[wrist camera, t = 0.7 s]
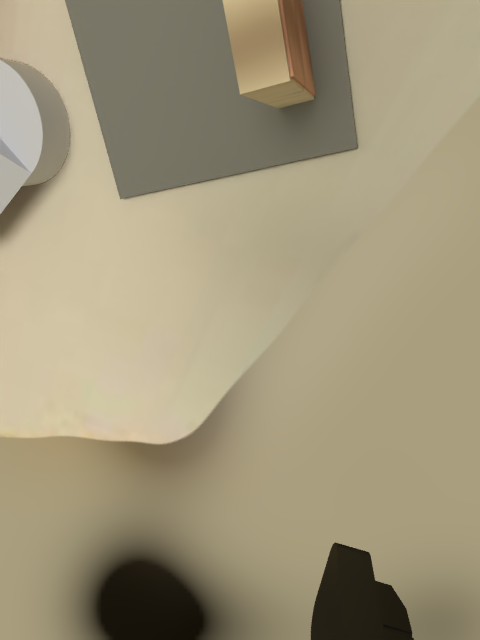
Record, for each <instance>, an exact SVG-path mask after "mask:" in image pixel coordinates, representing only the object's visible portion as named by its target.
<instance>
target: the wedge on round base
mask: <svg viewBox="0 0 480 640" xmlns="http://www.w3.org/2000/svg"><path fill="white" fill-rule="evenodd" d="M69 145H70V125H69V119H68V115H67V111H66V108H65V105H64V103H63V101H62V99H61V97H60V95H59V93H58V91H57V90H56V88H55V87H54V85H53V84H52V83H51V82H50V81H49V80H48V79H47V78H46V77H45V76H44V75H43V74H42V73H41V72H39V71H38V70H36V69H35V68H33V67H31V66H29V65H27V64H24V63H21V62H16V61H12V60H8V59H3V58H0V214H1V213H2V211H3V210H4V209H5V207H6V206H7V205H8V204H9V202H10V201H11V200H12V198H13V197H14V196H15V194H16V193H17V192H18V190H19V189H20V188H21V187H22V186H29V185H36V184H40V183H44V182H46V181H48V180H49V179H51V178H52V177H53V176H55V175H56V174H57V172H58V171H59V170H60V169H61V167H62V166H63V164H64V162H65V160H66V157H67V154H68V150H69Z"/></svg>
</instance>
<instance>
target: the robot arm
mask: <svg viewBox="0 0 480 640" xmlns="http://www.w3.org/2000/svg"><path fill="white" fill-rule="evenodd" d="M311 640H414V639H413V638H412V630H411V626H410V622H409V618H408V614H407V610H406V608H405V606H404V605H403V603H402V602H401V600H400V598H399V597H398V596H397V594H396V592H395V591H394V589H393V588H392V586H391V585H388V584H384V583H381V582H377V581H375V578H374V572H373V567H372V561H371V556H370V554H369V552H366V551H363V550H359V549H356V548H352V547H349V546H345V545H342V544H338V543H334V544H333V546H332V548H331V551H330V554H329V557H328V561H327V564H326V567H325V570H324V574H323V577H322V581H321V584H320V587H319V590H318V594H317V597H316V601H315V605H314V610H313V616H312V624H311Z"/></svg>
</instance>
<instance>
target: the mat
mask: <svg viewBox="0 0 480 640" xmlns="http://www.w3.org/2000/svg"><path fill="white" fill-rule="evenodd" d="M65 2H66V5H67V9H68V12H69V16H70V20H71V23H72V27H73V30H74V34H75V37H76V41H77V45H78V48H79V52H80V55H81V59H82V63H83V66H84V70H85V73H86V77H87V81H88V84H89V88H90V91H91V95H92V99H93V102H94V106H95V109H96V113H97V117H98V120H99V124H100V127H101V131H102V135H103V138H104V142H105V145H106V149H107V153H108V156H109V160H110V163H111V167H112V171H113V174H114V178H115V181H116V185H117V189H118V192H119V196H120V199H123V198H127V197H132V196H137V195H141V194H146V193H151V192H155V191H160V190H164V189H169V188H174V187H178V186H183V185H188V184H192V183H197V182H201V181H206V180H211V179H215V178H220V177H225V176H229V175H234V174H239V173H243V172H248V171H252V170H257V169H262V168H266V167H271V166H276V165H280V164H285V163H290V162H294V161H299V160H303V159H308V158H313V157H317V156H322V155H327V154H331V153H336V152H340V151H345V150H350V149H354V148H357V139H356V131H355V123H354V114H353V106H352V98H351V89H350V81H349V73H348V64H347V56H346V48H345V39H344V31H343V23H342V14H341V6H340V0H302V2H303V9H304V16H305V23H306V31H307V38H308V45H309V52H310V59H311V66H312V73H313V80H314V87H315V94H316V95H314V100H310V101H306V102H302V103H298V104H294V105H290V106H287V107H283V108H279V109H278V108H276V107H273V106H270V105H267V104H265V103H262V102H259V101H257V100H254V99H251V98H249V97H246V96H243V95H240V91H239V86H238V80H237V75H236V70H235V64H234V59H233V54H232V48H231V43H230V38H229V32H228V27H227V22H226V16H225V11H224V6H223V0H65Z"/></svg>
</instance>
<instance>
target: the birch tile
mask: <svg viewBox="0 0 480 640" xmlns="http://www.w3.org/2000/svg"><path fill="white" fill-rule="evenodd" d="M223 6H224V11H225V16H226V22H227V27H228V32H229V38H230V43H231V48H232V54H233V59H234V64H235V70H236V75H237V80H238V86H239V91H240V95H243V96H246V97H249V98H251V99H254V100H257V101H259V102H262V103H265V104H267V105H270V106H273V107H276V108H278V109H279V108H283V107H287V106H290V105H294V104H298V103H302V102H306V101H310V100H314V95H316V94H315V87H314V80H313V73H312V66H311V59H310V52H309V45H308V38H307V31H306V23H305V16H304V9H303V2H302V0H223Z"/></svg>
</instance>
